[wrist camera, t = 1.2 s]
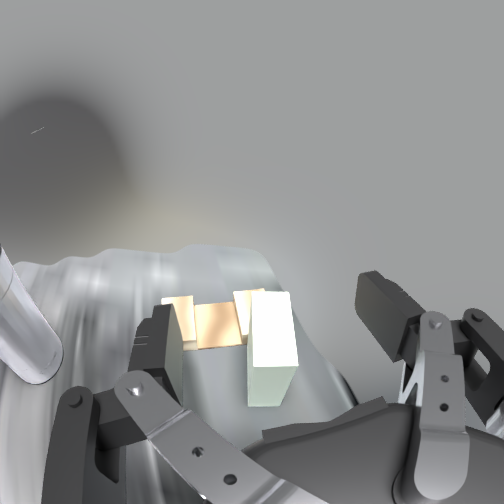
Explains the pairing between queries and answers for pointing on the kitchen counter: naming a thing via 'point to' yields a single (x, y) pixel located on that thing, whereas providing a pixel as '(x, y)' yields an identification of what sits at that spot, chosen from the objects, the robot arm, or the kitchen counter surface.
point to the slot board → (213, 321)
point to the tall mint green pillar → (270, 349)
